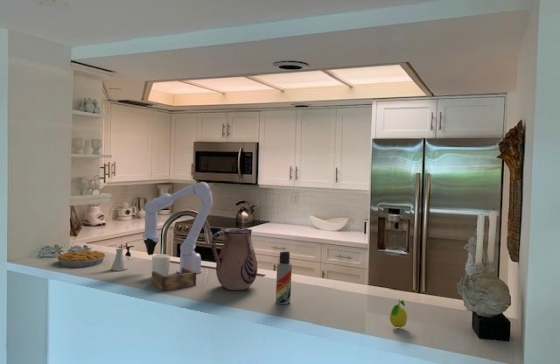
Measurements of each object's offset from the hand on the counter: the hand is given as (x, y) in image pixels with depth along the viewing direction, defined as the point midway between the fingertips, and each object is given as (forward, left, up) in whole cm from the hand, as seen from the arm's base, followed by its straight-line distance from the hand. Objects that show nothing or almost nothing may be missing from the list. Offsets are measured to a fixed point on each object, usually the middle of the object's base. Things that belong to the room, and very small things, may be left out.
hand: (150, 254), depth 205 cm
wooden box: (0, +26, -8) cm, 27 cm away
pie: (+21, -35, -9) cm, 42 cm away
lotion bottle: (-25, +70, -8) cm, 75 cm away
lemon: (-40, +112, -8) cm, 119 cm away
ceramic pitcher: (-19, +44, -8) cm, 48 cm away
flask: (+10, -12, -9) cm, 18 cm away
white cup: (0, +12, -8) cm, 15 cm away
